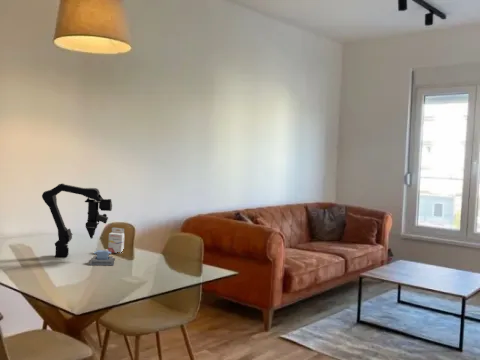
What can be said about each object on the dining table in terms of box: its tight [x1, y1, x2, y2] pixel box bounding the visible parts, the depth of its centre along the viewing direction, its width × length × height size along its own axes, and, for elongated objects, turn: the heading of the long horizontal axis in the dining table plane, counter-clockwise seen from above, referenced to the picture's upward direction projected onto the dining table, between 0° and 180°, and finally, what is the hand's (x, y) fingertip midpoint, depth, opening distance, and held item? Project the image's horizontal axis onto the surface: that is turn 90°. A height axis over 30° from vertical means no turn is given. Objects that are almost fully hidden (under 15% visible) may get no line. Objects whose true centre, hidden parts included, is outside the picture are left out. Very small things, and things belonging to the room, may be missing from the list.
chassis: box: [88, 255, 116, 266], centre depth 282 cm, size 13×13×2 cm
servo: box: [93, 248, 112, 259], centre depth 282 cm, size 9×4×6 cm, turn 101°
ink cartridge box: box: [107, 227, 125, 254], centre depth 308 cm, size 9×5×15 cm, turn 84°
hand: (92, 236), depth 291 cm, fingers open, 9 cm apart
